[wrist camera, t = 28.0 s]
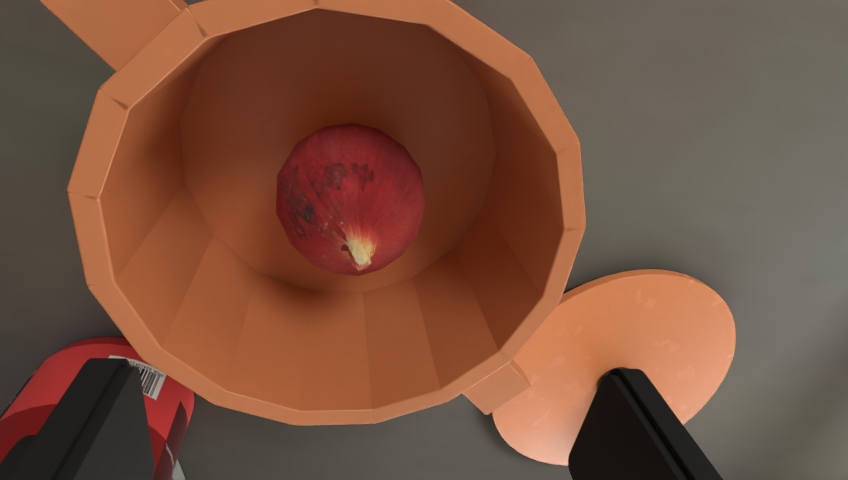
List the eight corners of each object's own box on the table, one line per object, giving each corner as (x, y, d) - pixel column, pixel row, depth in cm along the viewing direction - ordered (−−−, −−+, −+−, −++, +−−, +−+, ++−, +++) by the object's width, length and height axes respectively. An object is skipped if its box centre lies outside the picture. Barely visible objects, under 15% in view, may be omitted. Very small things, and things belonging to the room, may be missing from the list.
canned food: (10, 345, 25) (-194, 580, 15) (173, 320, 25) (75, 529, 16) (75, 443, 28) (-55, 680, 19) (215, 419, 29) (156, 635, 20)
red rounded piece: (262, 186, 22) (228, 284, 15) (324, 76, 20) (319, 132, 13) (370, 241, 24) (384, 348, 18) (436, 147, 23) (479, 226, 16)
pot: (318, -204, 16) (304, -343, 9) (583, 217, 26) (678, 313, 19) (20, 88, 19) (-175, 161, 12) (361, 369, 29) (370, 503, 22)
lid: (674, 211, 27) (757, 270, 22) (751, 368, 35) (826, 440, 30) (436, 368, 30) (458, 454, 25) (557, 480, 38) (594, 564, 33)
